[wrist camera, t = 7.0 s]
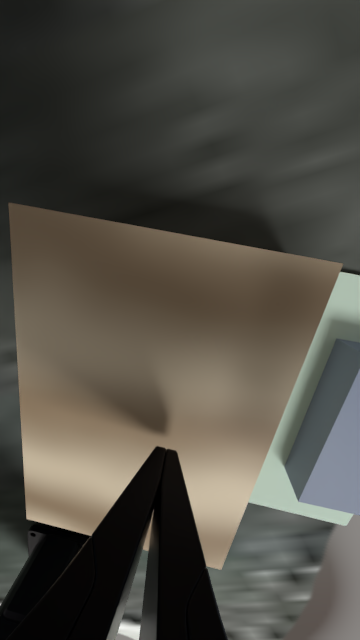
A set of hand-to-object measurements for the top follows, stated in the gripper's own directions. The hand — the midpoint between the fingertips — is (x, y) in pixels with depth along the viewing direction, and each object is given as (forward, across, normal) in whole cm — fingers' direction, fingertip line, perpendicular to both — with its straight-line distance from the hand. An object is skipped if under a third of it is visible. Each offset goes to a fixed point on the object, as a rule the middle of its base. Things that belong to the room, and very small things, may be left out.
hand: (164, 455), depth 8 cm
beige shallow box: (+5, +1, 0) cm, 5 cm away
